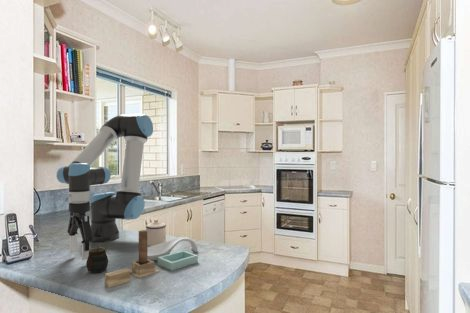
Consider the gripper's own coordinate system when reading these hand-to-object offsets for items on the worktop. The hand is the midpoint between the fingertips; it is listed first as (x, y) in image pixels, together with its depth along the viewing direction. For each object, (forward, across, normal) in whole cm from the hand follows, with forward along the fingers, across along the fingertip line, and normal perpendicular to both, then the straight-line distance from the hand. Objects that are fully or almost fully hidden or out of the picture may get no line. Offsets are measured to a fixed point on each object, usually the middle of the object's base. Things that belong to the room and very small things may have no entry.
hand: (79, 255), depth 125 cm
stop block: (+2, +34, 0) cm, 34 cm away
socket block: (+2, +31, +11) cm, 33 cm away
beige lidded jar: (+2, +2, +33) cm, 33 cm away
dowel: (+1, +31, +11) cm, 33 cm away
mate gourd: (+2, +18, 0) cm, 18 cm away
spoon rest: (+2, +22, +28) cm, 35 cm away
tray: (+2, +33, +24) cm, 41 cm away
